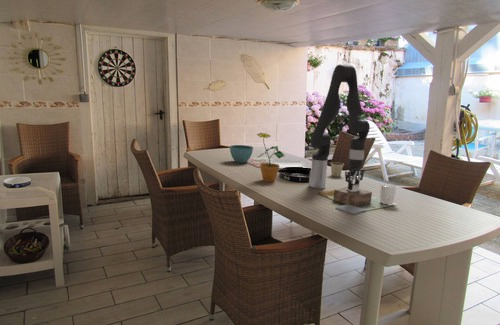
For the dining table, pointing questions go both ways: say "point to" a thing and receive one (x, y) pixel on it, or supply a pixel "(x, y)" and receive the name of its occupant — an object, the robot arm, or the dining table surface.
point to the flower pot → (336, 168)
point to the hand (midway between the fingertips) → (353, 188)
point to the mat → (350, 209)
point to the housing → (352, 196)
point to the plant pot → (241, 153)
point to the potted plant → (269, 169)
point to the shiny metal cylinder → (354, 188)
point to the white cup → (387, 193)
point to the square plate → (288, 163)
